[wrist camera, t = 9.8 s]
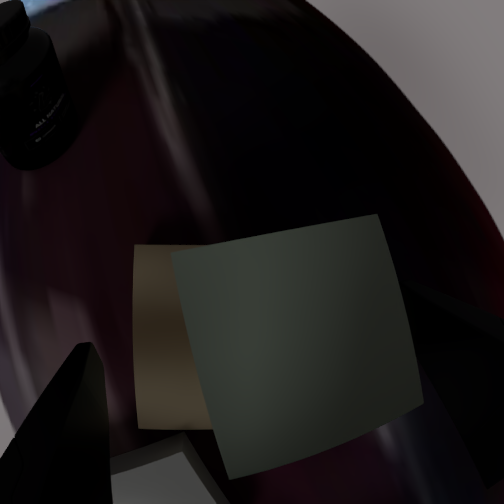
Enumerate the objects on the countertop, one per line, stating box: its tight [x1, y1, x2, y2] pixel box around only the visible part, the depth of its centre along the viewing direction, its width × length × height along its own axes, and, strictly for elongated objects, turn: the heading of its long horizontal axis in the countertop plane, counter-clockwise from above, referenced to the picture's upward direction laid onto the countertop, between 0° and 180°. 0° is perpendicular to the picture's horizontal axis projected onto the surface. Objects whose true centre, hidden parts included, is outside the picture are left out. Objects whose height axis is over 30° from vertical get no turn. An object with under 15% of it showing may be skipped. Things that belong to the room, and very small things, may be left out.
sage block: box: [171, 214, 424, 480], centre depth 11 cm, size 5×5×11 cm
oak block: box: [133, 245, 213, 430], centre depth 18 cm, size 10×10×3 cm
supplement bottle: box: [0, 0, 78, 170], centre depth 14 cm, size 7×7×12 cm
